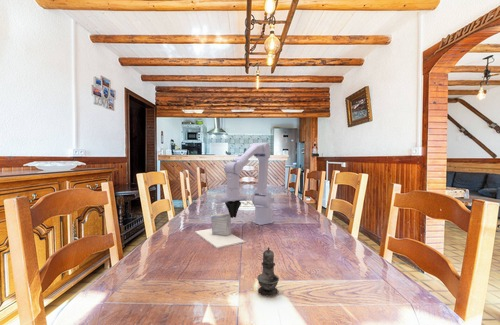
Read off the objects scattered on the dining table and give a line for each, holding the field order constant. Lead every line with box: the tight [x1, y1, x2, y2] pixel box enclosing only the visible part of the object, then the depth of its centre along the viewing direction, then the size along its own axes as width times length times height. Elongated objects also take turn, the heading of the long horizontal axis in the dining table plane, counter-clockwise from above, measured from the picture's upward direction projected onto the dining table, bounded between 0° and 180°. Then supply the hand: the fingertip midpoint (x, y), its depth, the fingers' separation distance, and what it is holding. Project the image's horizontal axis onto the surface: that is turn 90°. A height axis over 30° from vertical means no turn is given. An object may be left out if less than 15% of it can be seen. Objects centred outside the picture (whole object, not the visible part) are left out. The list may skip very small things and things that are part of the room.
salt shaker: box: [256, 246, 280, 298], centre depth 66 cm, size 6×6×12 cm
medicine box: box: [210, 213, 232, 236], centre depth 113 cm, size 8×4×9 cm, turn 71°
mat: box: [194, 228, 246, 249], centre depth 110 cm, size 13×24×1 cm, turn 33°
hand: (232, 217), depth 113 cm, fingers closed
